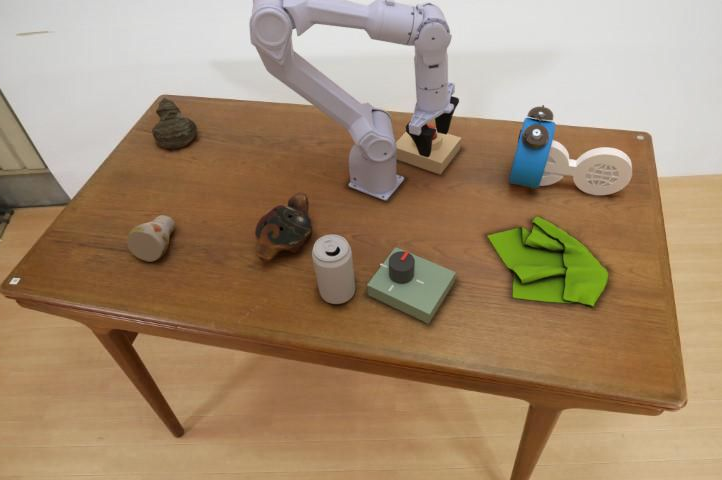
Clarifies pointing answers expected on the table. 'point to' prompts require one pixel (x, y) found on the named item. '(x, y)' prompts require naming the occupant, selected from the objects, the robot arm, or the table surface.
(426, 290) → the dial panel
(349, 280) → the beverage can
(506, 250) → the cloth
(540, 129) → the alarm clock
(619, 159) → the white double disc plate
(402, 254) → the dial
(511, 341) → the table surface
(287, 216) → the decorative turtle
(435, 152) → the button housing
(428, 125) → the button
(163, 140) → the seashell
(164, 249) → the beige ceramic vase
